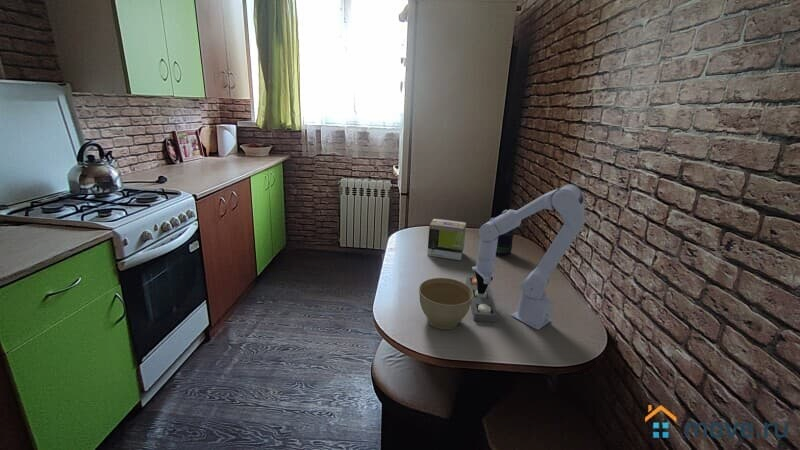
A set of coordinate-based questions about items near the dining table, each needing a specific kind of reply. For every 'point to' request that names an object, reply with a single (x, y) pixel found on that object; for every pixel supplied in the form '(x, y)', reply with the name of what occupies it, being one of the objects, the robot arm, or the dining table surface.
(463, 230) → the tea box
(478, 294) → the sage button
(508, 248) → the storage jar
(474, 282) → the orange button
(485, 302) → the button panel
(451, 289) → the planter bowl
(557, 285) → the dining table surface
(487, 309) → the cream button
